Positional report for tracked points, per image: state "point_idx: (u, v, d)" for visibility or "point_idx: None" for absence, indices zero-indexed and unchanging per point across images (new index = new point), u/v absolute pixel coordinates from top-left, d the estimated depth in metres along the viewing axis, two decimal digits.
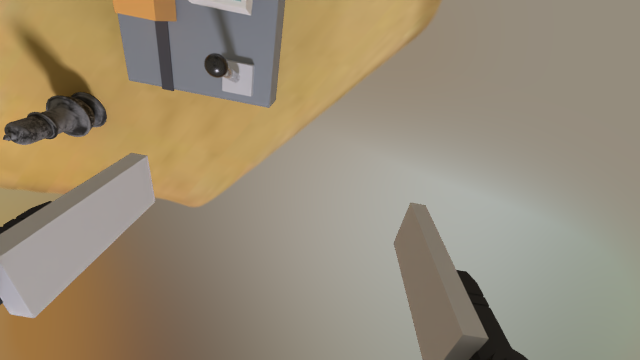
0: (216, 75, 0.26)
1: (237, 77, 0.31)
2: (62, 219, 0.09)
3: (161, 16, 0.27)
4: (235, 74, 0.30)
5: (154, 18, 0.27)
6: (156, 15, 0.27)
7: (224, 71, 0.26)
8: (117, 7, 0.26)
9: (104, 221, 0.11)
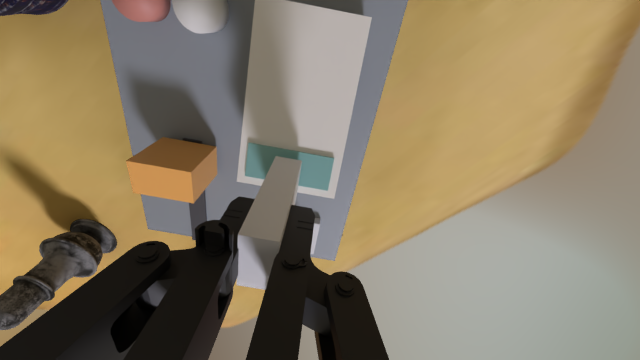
0: None
1: None
2: None
3: (200, 189, 0.19)
4: None
5: (192, 200, 0.18)
6: (194, 195, 0.18)
7: None
8: (137, 187, 0.18)
9: None
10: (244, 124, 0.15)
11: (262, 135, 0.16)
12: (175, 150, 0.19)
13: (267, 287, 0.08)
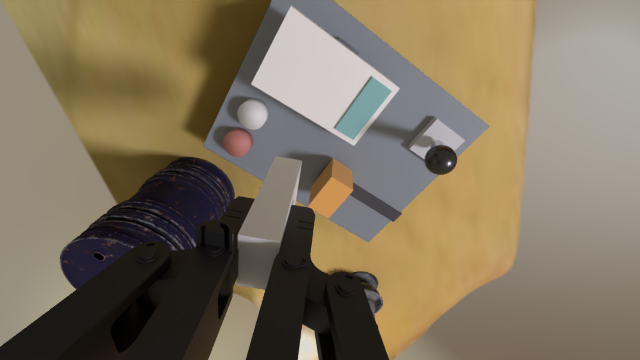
0: (454, 166, 0.19)
1: (443, 144, 0.24)
2: None
3: (349, 182, 0.25)
4: (442, 143, 0.23)
5: (351, 190, 0.24)
6: (348, 186, 0.25)
7: (455, 154, 0.19)
8: (326, 213, 0.26)
9: None
10: (322, 125, 0.23)
11: (334, 117, 0.23)
12: (319, 181, 0.27)
13: (267, 287, 0.08)
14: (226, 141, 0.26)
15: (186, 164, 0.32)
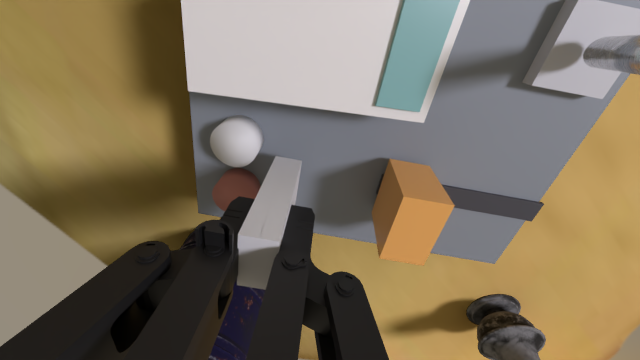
0: None
1: (627, 36, 0.10)
2: None
3: (438, 191, 0.13)
4: (630, 35, 0.10)
5: (449, 206, 0.12)
6: (443, 201, 0.12)
7: None
8: (416, 259, 0.14)
9: None
10: (351, 110, 0.12)
11: (367, 86, 0.11)
12: (382, 205, 0.15)
13: (267, 287, 0.08)
14: (218, 197, 0.17)
15: None
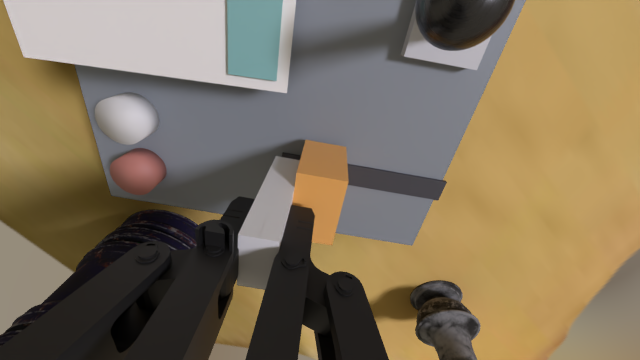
0: None
1: None
2: None
3: (339, 168, 0.13)
4: None
5: (343, 182, 0.12)
6: (337, 177, 0.12)
7: None
8: (323, 238, 0.14)
9: None
10: (205, 79, 0.11)
11: (215, 53, 0.11)
12: None
13: (267, 287, 0.08)
14: (117, 177, 0.17)
15: (127, 225, 0.23)
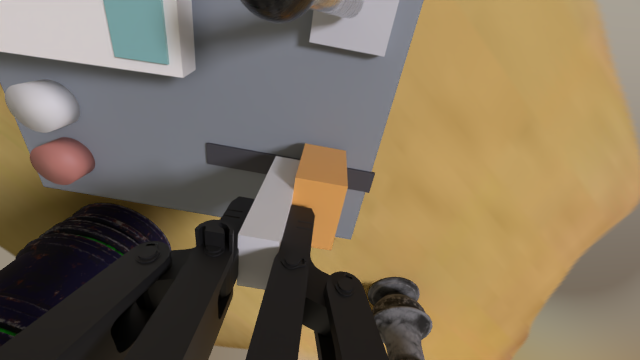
0: None
1: None
2: None
3: (338, 173, 0.13)
4: None
5: (343, 187, 0.12)
6: (337, 182, 0.12)
7: None
8: (322, 243, 0.14)
9: None
10: (93, 62, 0.11)
11: (98, 34, 0.11)
12: None
13: (267, 287, 0.08)
14: (39, 166, 0.16)
15: (71, 217, 0.23)
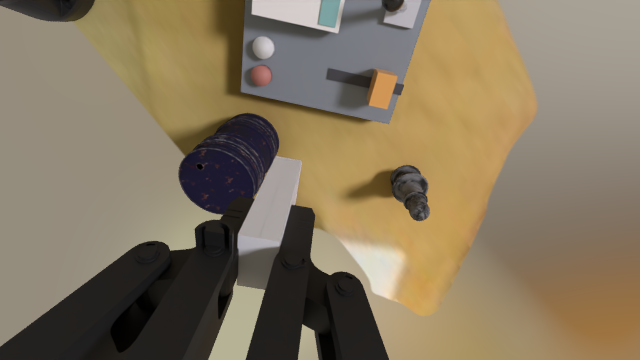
0: None
1: None
2: None
3: (393, 74, 0.33)
4: None
5: (395, 77, 0.32)
6: (393, 75, 0.32)
7: None
8: (384, 105, 0.34)
9: None
10: (309, 25, 0.31)
11: (314, 15, 0.31)
12: (371, 87, 0.35)
13: (267, 287, 0.08)
14: (253, 76, 0.36)
15: (236, 118, 0.43)
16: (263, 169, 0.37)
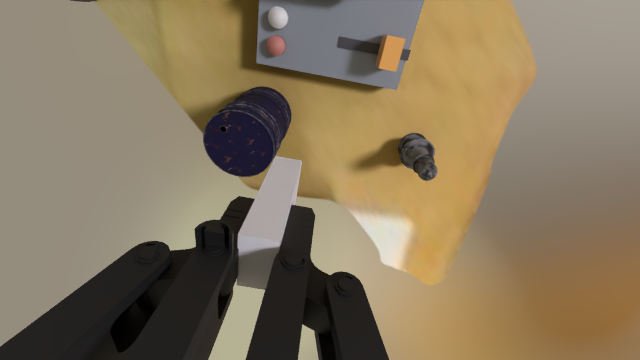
0: None
1: None
2: None
3: None
4: None
5: (403, 39, 0.34)
6: (401, 38, 0.35)
7: None
8: (392, 68, 0.36)
9: None
10: None
11: None
12: (380, 52, 0.37)
13: (267, 287, 0.08)
14: (269, 46, 0.39)
15: None
16: (280, 134, 0.40)
